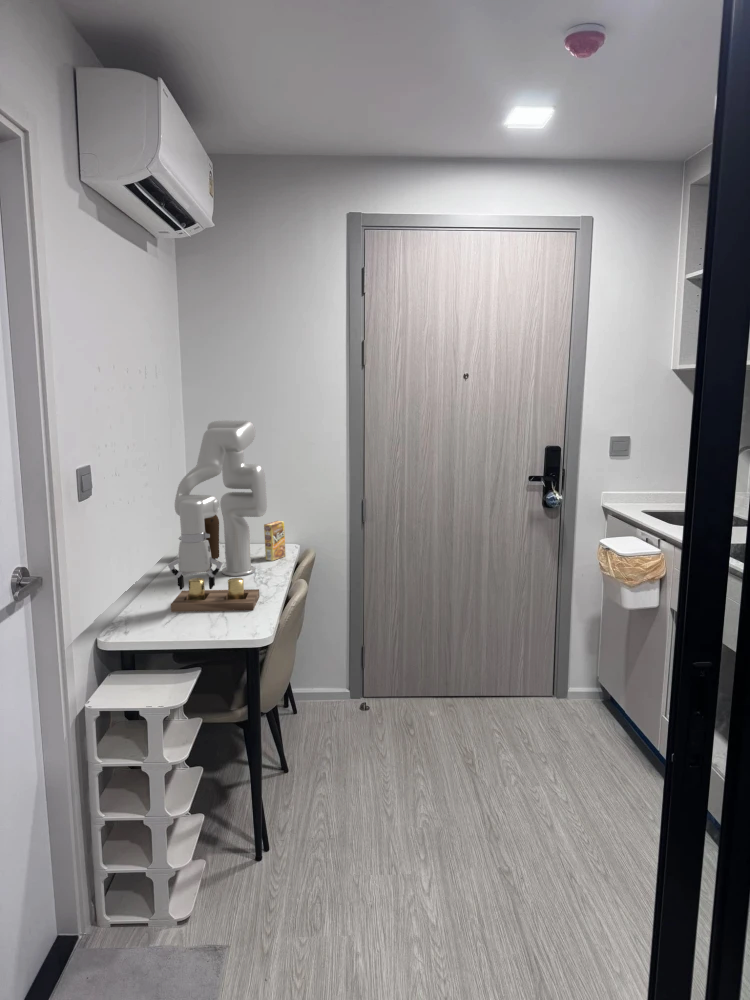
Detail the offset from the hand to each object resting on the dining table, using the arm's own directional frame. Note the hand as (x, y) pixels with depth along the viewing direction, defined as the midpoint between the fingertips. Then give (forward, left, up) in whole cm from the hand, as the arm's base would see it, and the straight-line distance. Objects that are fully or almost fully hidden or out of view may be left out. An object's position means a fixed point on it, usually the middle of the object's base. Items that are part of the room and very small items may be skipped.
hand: (196, 588), depth 215 cm
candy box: (-61, +18, -7) cm, 64 cm away
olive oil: (-64, -11, -7) cm, 65 cm away
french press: (-42, -13, -7) cm, 44 cm away
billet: (0, 0, -5) cm, 5 cm away
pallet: (0, +6, -6) cm, 9 cm away
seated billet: (0, +13, -5) cm, 14 cm away
